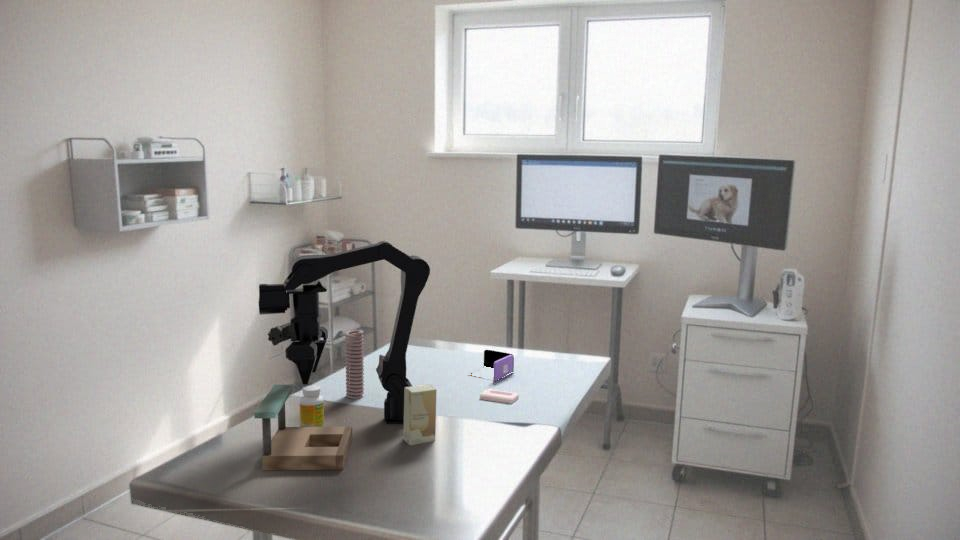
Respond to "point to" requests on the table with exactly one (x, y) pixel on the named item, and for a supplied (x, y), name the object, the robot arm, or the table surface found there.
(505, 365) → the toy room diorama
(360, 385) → the coil
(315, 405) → the supplement bottle
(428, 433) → the skincare box
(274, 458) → the socket plate
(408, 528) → the table surface
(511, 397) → the soap bar
